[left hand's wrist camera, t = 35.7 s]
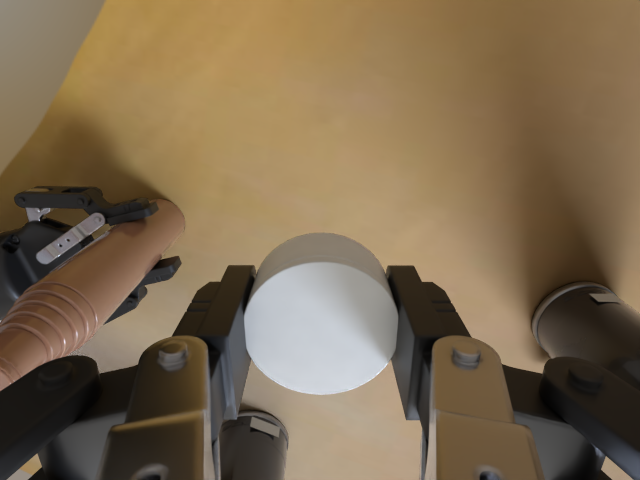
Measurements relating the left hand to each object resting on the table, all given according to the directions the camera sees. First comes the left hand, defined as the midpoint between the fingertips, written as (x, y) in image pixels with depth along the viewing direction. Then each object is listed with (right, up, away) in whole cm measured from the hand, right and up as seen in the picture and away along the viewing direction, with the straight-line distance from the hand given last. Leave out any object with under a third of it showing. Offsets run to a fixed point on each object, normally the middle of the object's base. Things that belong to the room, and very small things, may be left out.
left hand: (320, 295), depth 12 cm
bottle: (-16, +4, +30) cm, 34 cm away
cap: (0, -1, -2) cm, 2 cm away
